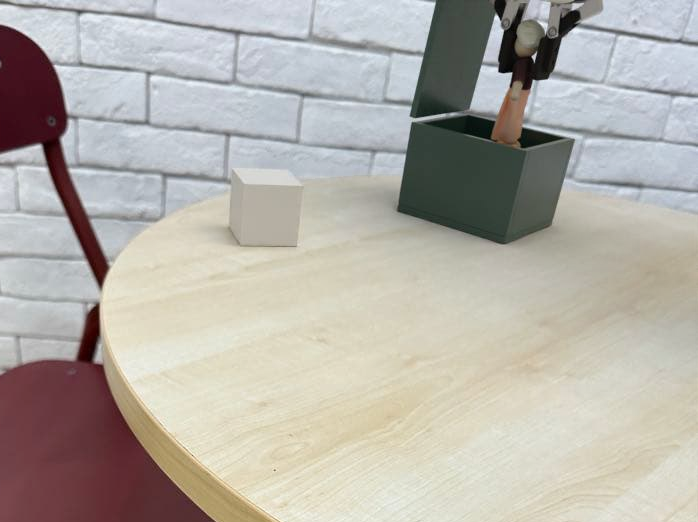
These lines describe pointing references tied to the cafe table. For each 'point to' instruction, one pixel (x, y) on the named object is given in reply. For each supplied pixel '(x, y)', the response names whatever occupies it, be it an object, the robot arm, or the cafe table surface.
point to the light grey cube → (265, 207)
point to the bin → (482, 177)
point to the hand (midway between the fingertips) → (523, 74)
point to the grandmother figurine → (518, 84)
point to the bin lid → (452, 57)
